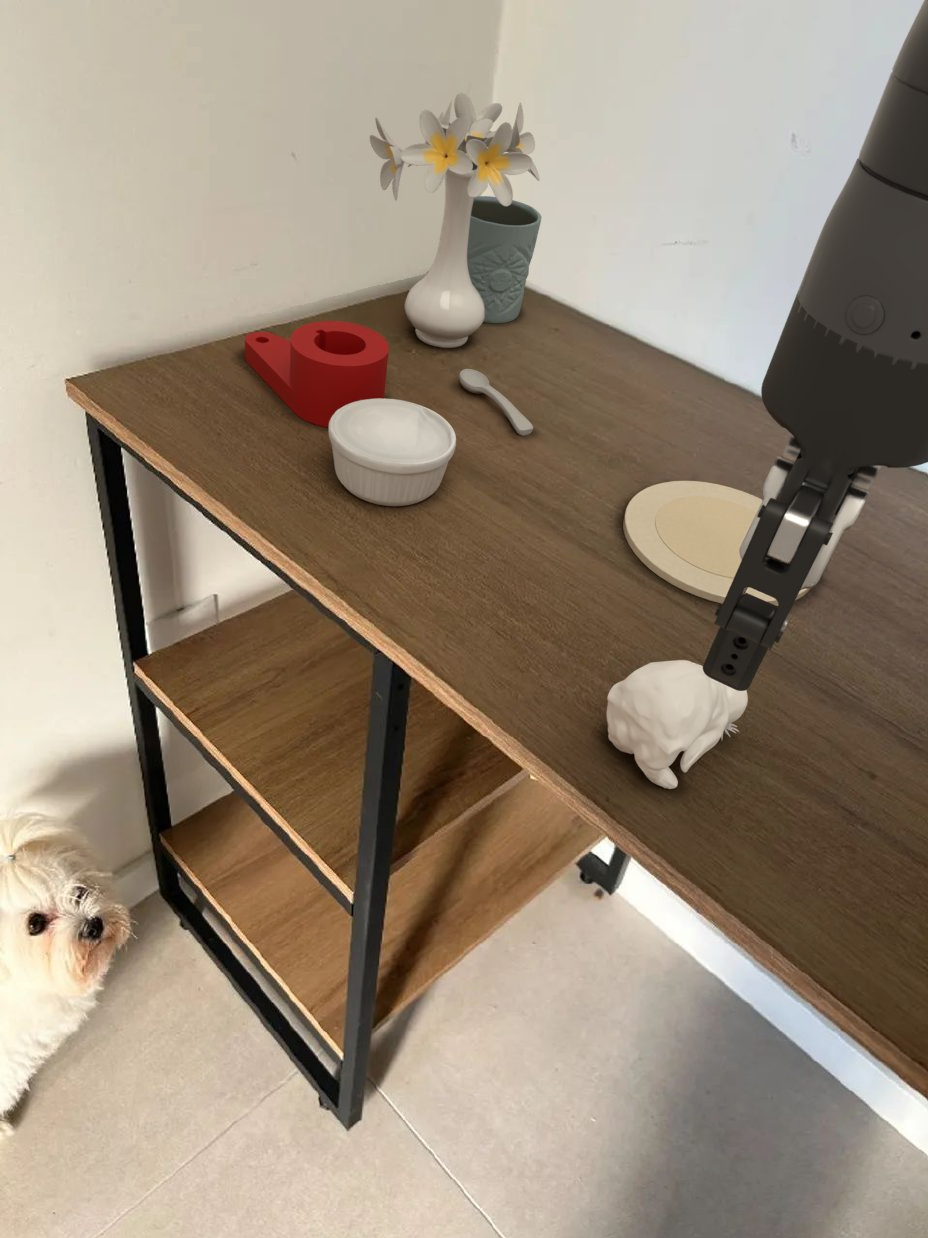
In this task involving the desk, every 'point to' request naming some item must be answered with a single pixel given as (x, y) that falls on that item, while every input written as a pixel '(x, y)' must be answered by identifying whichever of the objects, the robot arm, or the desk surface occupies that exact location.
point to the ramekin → (390, 450)
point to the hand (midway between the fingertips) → (751, 629)
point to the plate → (693, 535)
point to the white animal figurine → (670, 716)
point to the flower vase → (456, 205)
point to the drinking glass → (501, 254)
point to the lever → (321, 366)
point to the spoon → (495, 399)
